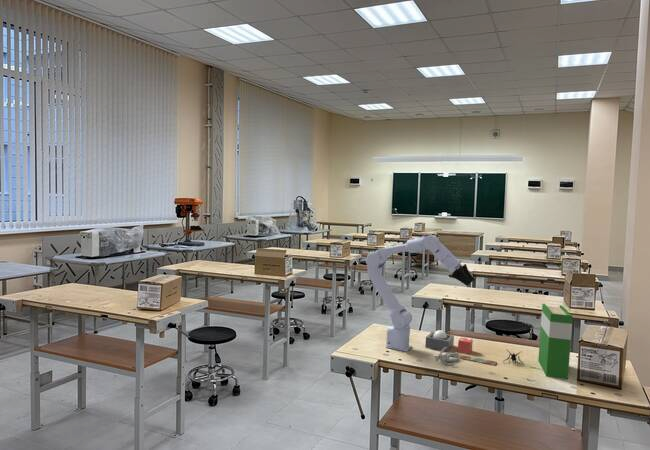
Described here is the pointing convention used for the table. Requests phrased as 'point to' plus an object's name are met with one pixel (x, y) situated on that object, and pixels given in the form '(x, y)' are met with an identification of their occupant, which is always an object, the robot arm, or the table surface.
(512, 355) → the creature
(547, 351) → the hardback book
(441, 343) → the dome base
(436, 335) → the dome
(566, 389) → the table surface
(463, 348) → the die
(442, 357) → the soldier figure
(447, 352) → the track
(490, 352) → the table surface
